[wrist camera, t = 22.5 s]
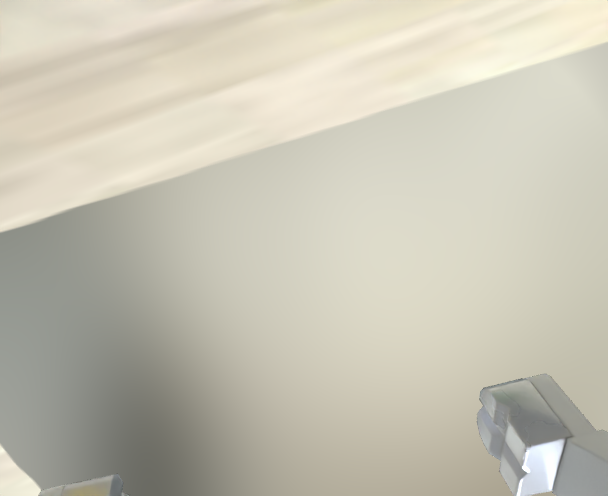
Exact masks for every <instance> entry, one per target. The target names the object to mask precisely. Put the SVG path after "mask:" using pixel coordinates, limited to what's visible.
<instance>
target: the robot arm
mask: <svg viewBox="0 0 608 496" xmlns="http://www.w3.org/2000/svg"><path fill="white" fill-rule="evenodd" d="M479 399H480V401H481V403H482V404H483V407H482V408H481V409H480V410H479V412H478V416H477V425H478V429H479V434H480V436H481V439H482V441H483V444H484V445H485V447H486V449H487V451H488V452H489V454H491V455H492V456H494V457H496V458H497V459H499V460H500V461H501V462H500V470H499V472H500V473H501V475H502V476H503V478H504V480H505V481H506V484H507V485H508V487H509V489H510V490H511V492H512V494H513V495H514V496H529V495H534V494H539V493H542V492H547V491H551V490H553V492H552V493H553V494H555V495H556V496H608V432H607V431H605V430H599V431H596V429H595V428H594V427H593V426H592V425H591V423H590V422H589V421H588V420H587V419H586V418H585V416H584V415H583V414H582V413H581V412H580V410H579V409H578V408H577V407H576V406H575V405H574V403H573V402H572V401H571V400H570V399H569V397H568V396H567V395H566V394H565V393H564V391H563V390H562V389H561V388H560V387H559V385H558V384H557V383H556V382H555V381H554V380H553V378H552V377H551V376H549V375H547V374H540V375H537V376H532V377H529V378H525V379H522V378H521V379H518V380H514V381H509V382H505V383H502V384H497V385H494V386H489V387H485V388H483V389H482V390H481V392H480V398H479ZM122 487H123V481H122V480H121V478H120V477H119V475H118V474H114V475H109V476H104V477H100V478H95V479H90V480H86V481H81V482H76V483H71V484H66V485H62V486H57V487H53V488H48V489H45V490H41V492H40V493H39V495H38V496H130V495H129V494H127V493H124V492H122V489H123V488H122Z"/></svg>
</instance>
